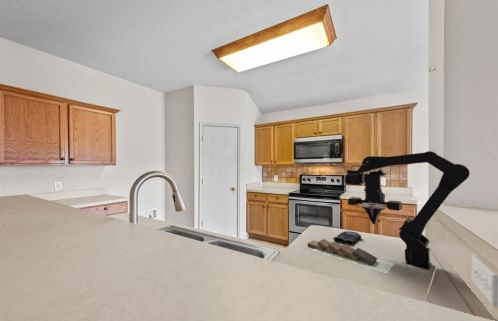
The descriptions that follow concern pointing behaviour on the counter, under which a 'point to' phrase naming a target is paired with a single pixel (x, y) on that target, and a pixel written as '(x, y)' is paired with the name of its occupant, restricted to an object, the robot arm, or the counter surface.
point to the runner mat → (361, 261)
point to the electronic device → (348, 236)
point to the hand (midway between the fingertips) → (374, 224)
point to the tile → (364, 256)
